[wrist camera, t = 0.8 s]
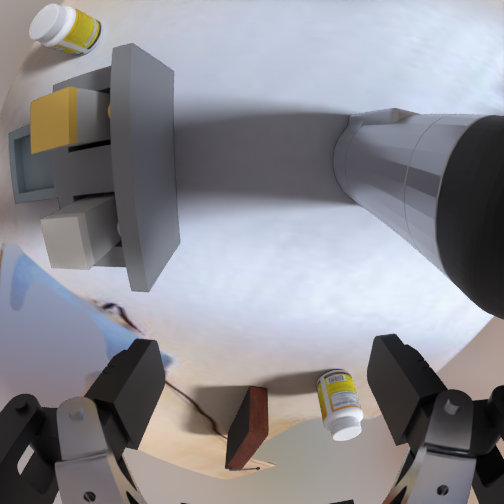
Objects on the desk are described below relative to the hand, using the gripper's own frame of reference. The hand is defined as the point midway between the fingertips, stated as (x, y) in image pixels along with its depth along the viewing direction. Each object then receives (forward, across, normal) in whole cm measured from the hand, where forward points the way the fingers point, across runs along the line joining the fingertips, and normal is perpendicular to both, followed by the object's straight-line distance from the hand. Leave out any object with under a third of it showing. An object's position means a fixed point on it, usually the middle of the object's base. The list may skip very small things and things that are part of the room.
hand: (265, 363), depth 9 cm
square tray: (+18, +26, -12) cm, 34 cm away
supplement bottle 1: (+16, +19, -25) cm, 35 cm away
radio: (+25, +3, +30) cm, 39 cm away
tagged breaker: (+14, +14, -13) cm, 24 cm away
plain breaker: (+16, +14, -4) cm, 22 cm away
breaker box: (+18, +14, -9) cm, 25 cm away
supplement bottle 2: (+24, -10, +22) cm, 34 cm away
